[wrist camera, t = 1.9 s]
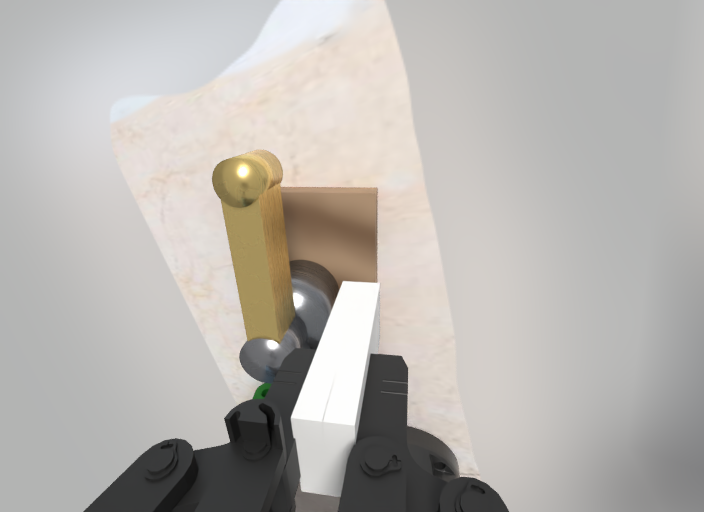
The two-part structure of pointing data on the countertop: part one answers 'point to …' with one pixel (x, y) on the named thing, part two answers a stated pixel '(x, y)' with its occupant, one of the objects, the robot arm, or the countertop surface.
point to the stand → (333, 230)
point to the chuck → (313, 297)
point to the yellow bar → (260, 260)
